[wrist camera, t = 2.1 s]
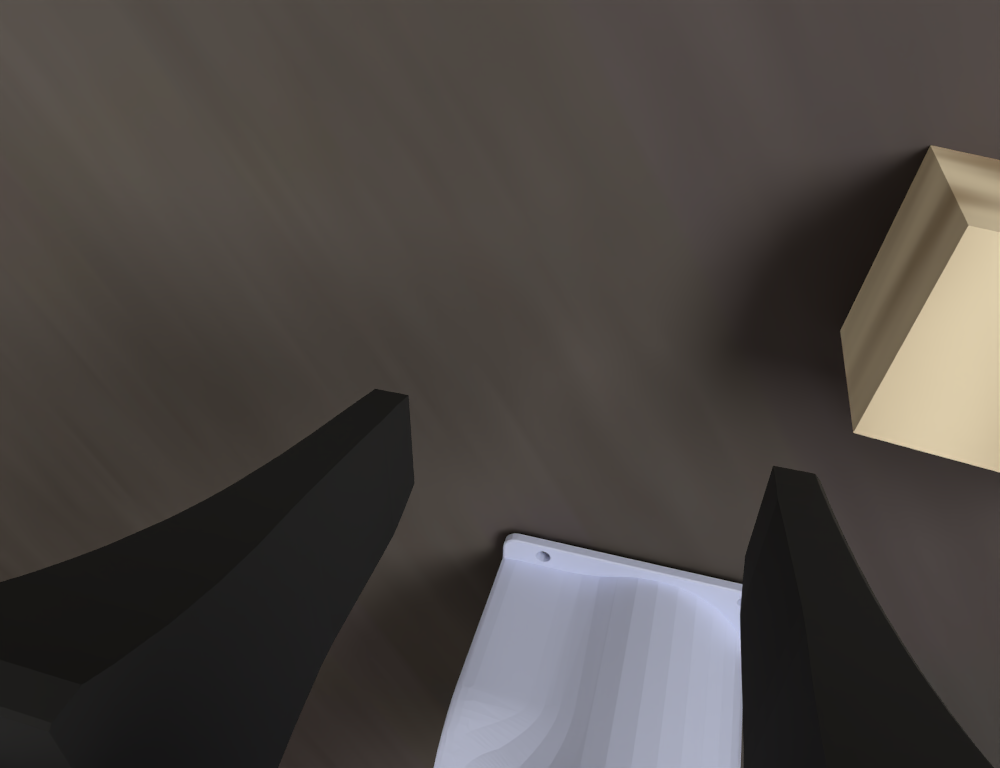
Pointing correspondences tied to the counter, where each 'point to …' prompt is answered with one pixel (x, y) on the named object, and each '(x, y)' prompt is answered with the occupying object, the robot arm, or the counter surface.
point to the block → (933, 318)
